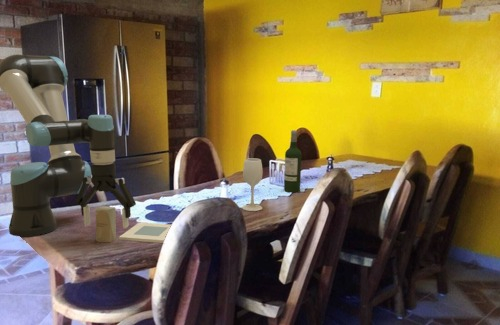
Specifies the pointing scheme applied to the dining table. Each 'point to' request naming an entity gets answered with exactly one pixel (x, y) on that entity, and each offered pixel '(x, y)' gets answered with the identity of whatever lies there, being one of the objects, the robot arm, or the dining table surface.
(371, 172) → the dining table surface
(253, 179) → the wineglass
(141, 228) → the tile
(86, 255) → the dining table surface
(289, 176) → the wine bottle
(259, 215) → the dining table surface
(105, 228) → the box
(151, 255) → the dining table surface
